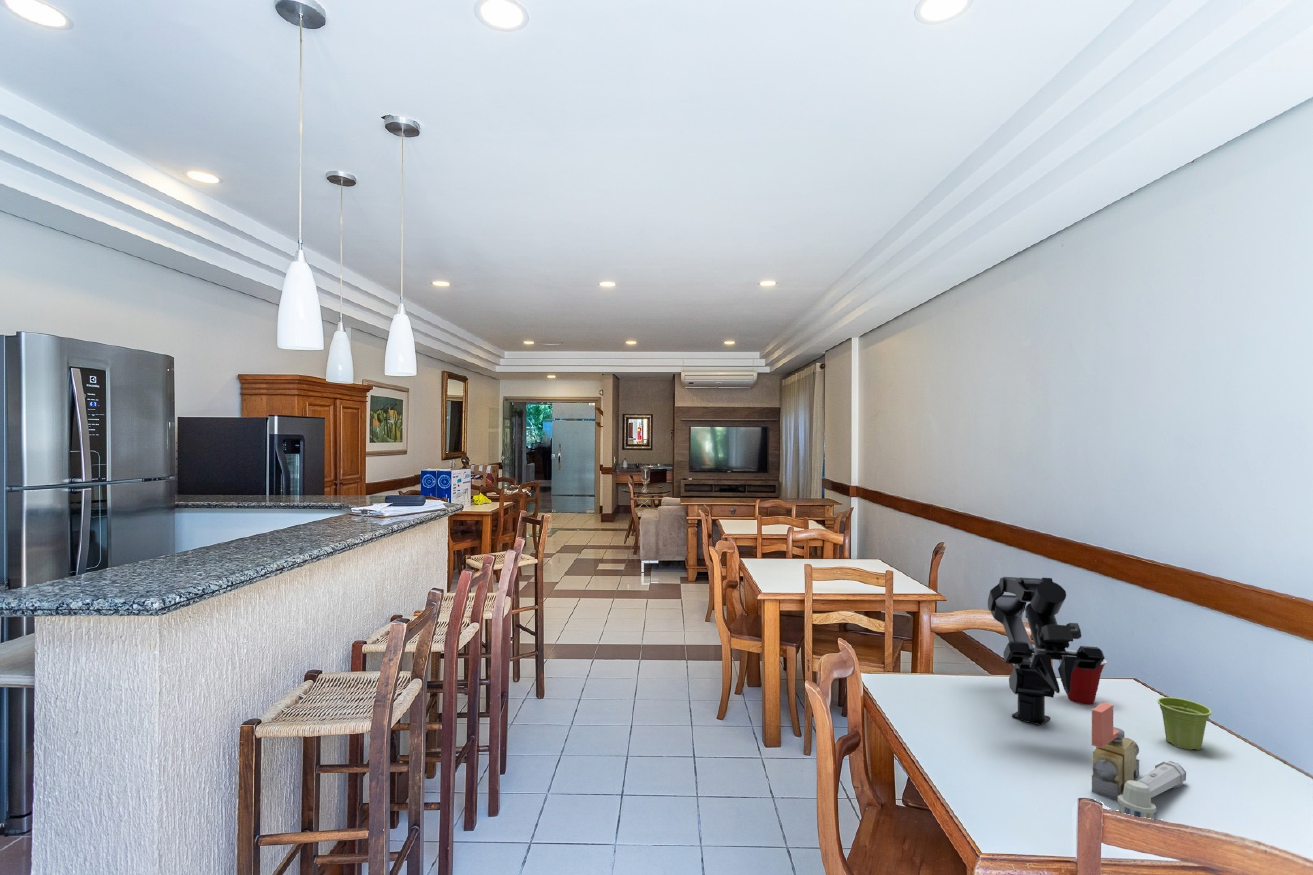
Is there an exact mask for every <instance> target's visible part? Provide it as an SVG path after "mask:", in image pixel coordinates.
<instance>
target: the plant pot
mask: <svg viewBox="0 0 1313 875" xmlns="http://www.w3.org/2000/svg"><path fill="white" fill-rule="evenodd" d="M1156 701H1157V704H1158V705H1159V707H1160V710H1161V715H1162V721H1163V726H1164V734H1165V740H1166V742H1168V743H1170V744H1172V745H1173V746H1175V747H1178V748H1180V749H1184V750H1190V751H1191V750H1197V751H1199V750H1201V749H1202V747H1203V743H1204V742H1203V741H1204V737H1205V731H1206V726H1207V721H1209V717H1210V716H1211V715H1212V713H1213V712H1212V709H1210V707H1207V706H1206V705H1204V704H1201V703H1198V702H1196V701H1192V700H1189V699H1185V698H1180V697H1179V698H1178V697H1168V696H1166V697H1165V696H1164V697H1159V698H1157V700H1156Z"/></svg>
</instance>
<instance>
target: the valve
mask: <svg viewBox="0 0 1313 875" xmlns="http://www.w3.org/2000/svg"><path fill="white" fill-rule="evenodd" d="M1095 747H1096V746H1095ZM1139 752H1140V748H1139V745H1138V744H1137V742H1136V741H1134V740H1133V739H1131V738H1129V737H1124V738H1122V739H1119V738H1115V739H1114V740H1112V741H1111V742H1110V743H1108V744H1107V745H1106V746H1104V747H1103V748H1099V747H1096V748H1095V749H1094V750H1093V751H1092V775H1091V792H1093V793H1096V794H1098V795H1101V796H1104V797H1106V798H1108V799H1109V798H1110V799H1111V800H1115V801H1118V800H1117V799H1118V796H1119V795H1123V791H1124V784H1125V783H1126V781H1128V780H1133V781H1135V780H1136V779H1137V778H1138V777H1139V776H1140V759H1138V758H1137V756H1138V754H1139Z"/></svg>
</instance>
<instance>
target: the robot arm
mask: <svg viewBox="0 0 1313 875" xmlns="http://www.w3.org/2000/svg"><path fill="white" fill-rule="evenodd" d="M998 582H999V583H997V585H995V586H993V587H992V588H991V589H990V591H989V593H988V598H987V608H988V611H989V612H990V613H991V615H992V617H993V620H996V622H998V623H1000V624H1002V626H1003V629H1004V632H1005V634H1006V637H1007V639H1008V643H1007V645H1006V646H1005V648H1004V651H1003V658H1004V662H1005V663H1006V664H1007V665H1009V664H1010V665H1014V667H1013V668H1012V671H1011V673H1010V675H1009V677H1008V685H1009V689H1010V690H1011V691H1012V692H1013V694H1014V695H1017V711H1015V712H1014V713H1013V714H1011V717H1012V718H1015V719H1018V720H1021V721H1024V722H1027V723H1031V724H1034V725H1037V726H1043V725H1044V724H1046V723H1047V722H1048V721H1049V720H1050V719H1051V716H1048V715H1045V714H1046V713H1045V712H1046V711H1045V709H1046V707H1045V706H1046V702H1045V700H1046V699H1045V698H1053V699H1054V697H1055V693H1056V694H1060V693H1061V692H1060V691H1061V689H1060V686H1059V685H1060V684H1059V681H1058V679H1057V677H1056V673H1055V670H1054V668H1053V666H1052V664H1053V663H1052V660H1055V661H1057V660H1058V663H1059V666H1058V668H1057V671H1058V674H1059V677H1060V678H1059V679H1060V681H1061V683H1062V686H1063V690H1064V692H1065V694H1066V695H1067V694H1069V693H1070V685H1071V674H1072V671H1074V669H1075V668H1076V666H1077V667H1078V668H1080V669H1086V670H1095V669H1097V668H1098V667H1099V666H1100V664H1101V663H1102V661H1103V660H1104V659H1105V658H1106V657H1105V655H1104V652H1103V650H1102V649H1100V648H1099V647H1098V646H1089V645H1087V646H1086V645H1080V646H1079V647H1078V648H1077V650H1076V651H1077V652H1070V651H1066V650H1067V649H1068V648H1070V642H1071V643H1072V642H1074V640H1078V639H1081V638H1082V631H1081V628H1080V625H1079V623H1076V622H1069V623H1066V625H1065V624H1058V621H1057V618H1056V615H1058V613H1059V612H1060V610H1061V608H1062V606H1063V604H1064V602H1065V600H1066V597H1067V592H1066V590H1065V589H1064V588H1063V587H1062V586H1061V585H1060V584H1059V583H1057V582H1054V581H1053V578H1052V577H1041V578H1040V577H1039V578H1038V577H1037V578H1035V577H1013V576H1012V577H1011V576H1003V577H1000V578H999V581H998ZM1005 593H1010V594H1005ZM1011 594H1013V595H1011ZM1027 603H1028V604H1027ZM1024 612H1025V615H1024ZM1023 615H1024V616H1025V619H1027V623H1028V626H1029V631H1030V637H1029V634H1028V631H1027V629H1026V627H1025V624H1024V622H1023ZM1032 641H1033V644H1034V646H1033V644H1032ZM1105 660H1106V659H1105Z"/></svg>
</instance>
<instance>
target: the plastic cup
mask: <svg viewBox="0 0 1313 875" xmlns="http://www.w3.org/2000/svg"><path fill="white" fill-rule="evenodd" d="M1065 650H1066V651H1070V652H1077V650H1072V649H1065ZM1106 664H1107V660H1106V659H1104V660H1103V661H1102V663H1101V664H1100V666H1099V667H1098V668H1097V669H1095V670H1086V669H1080V668H1078V667H1077V666H1076V668H1075V669H1074V671H1072V674H1071V685H1070V693H1069V694H1066V696H1067V699H1068V700H1069V701H1071V702H1072V703H1075V704H1080V705H1084V706H1085V705H1087V706H1092V705H1094V704H1095V702H1096V696H1097V692H1098V689H1099V684H1100V678H1101V675H1102V672H1103V669H1104V667H1105V665H1106Z"/></svg>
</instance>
